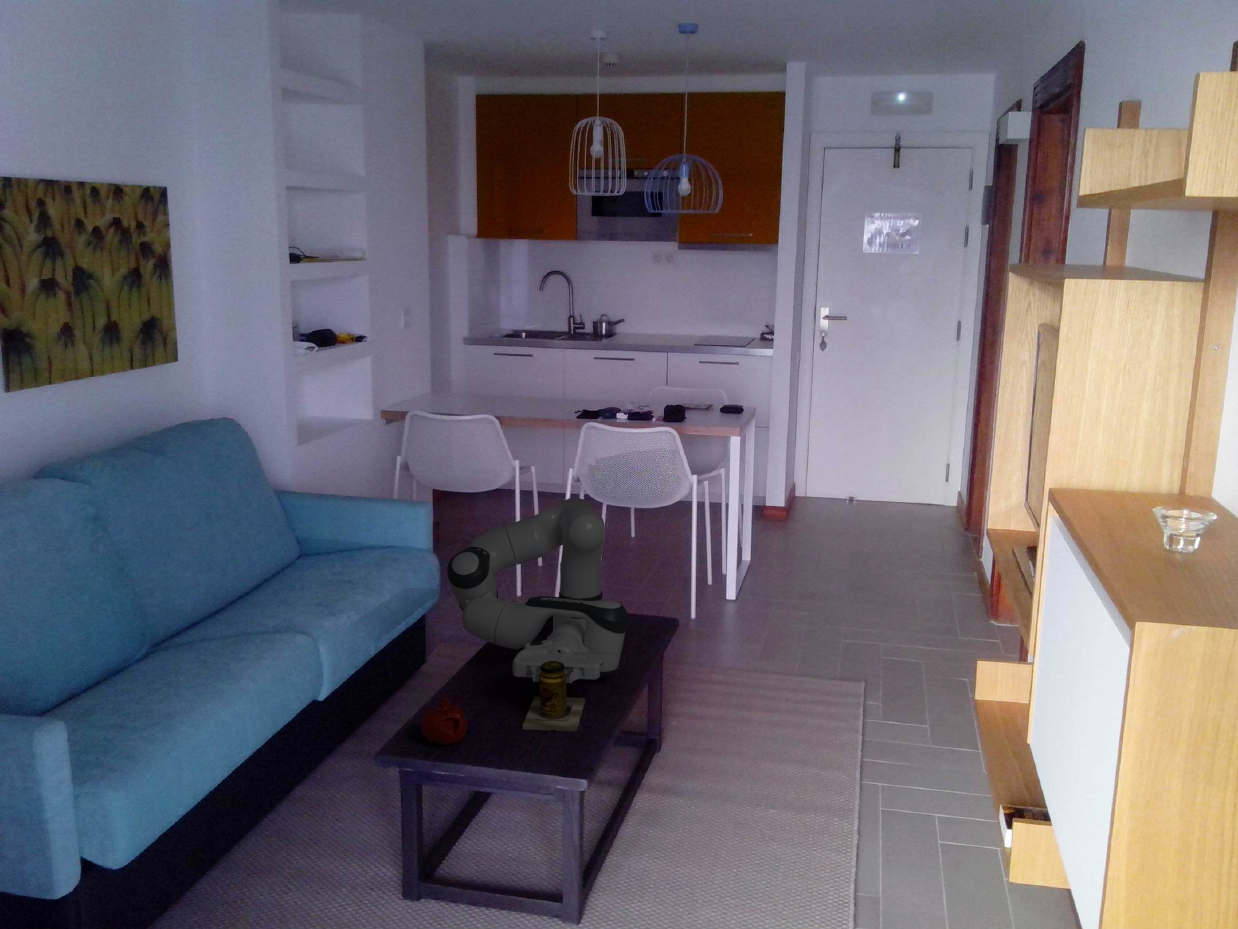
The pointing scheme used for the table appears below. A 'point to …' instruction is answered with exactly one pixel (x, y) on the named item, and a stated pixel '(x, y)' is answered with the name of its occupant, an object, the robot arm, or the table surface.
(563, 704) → the condiment
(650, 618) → the table surface
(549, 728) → the board
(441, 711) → the pomegranate
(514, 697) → the table surface
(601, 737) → the table surface
